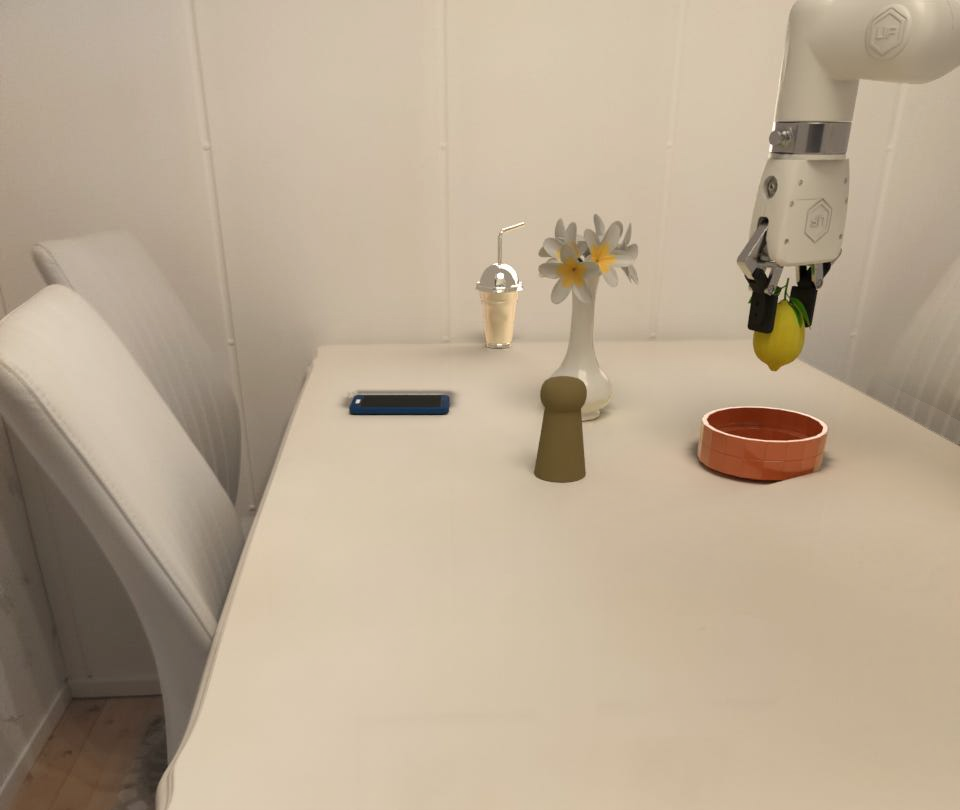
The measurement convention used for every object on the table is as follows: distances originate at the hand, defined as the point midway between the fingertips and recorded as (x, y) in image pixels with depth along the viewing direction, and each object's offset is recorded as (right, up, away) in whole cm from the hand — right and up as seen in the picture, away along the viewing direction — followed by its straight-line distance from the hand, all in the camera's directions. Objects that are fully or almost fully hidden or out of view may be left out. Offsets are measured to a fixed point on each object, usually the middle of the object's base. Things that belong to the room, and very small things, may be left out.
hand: (779, 326), depth 102 cm
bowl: (0, -14, +8) cm, 16 cm away
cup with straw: (-30, +18, +64) cm, 72 cm away
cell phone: (-45, -2, +29) cm, 53 cm away
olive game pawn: (-24, -16, +5) cm, 29 cm away
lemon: (0, -4, +3) cm, 5 cm away
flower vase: (-19, -4, +25) cm, 32 cm away
